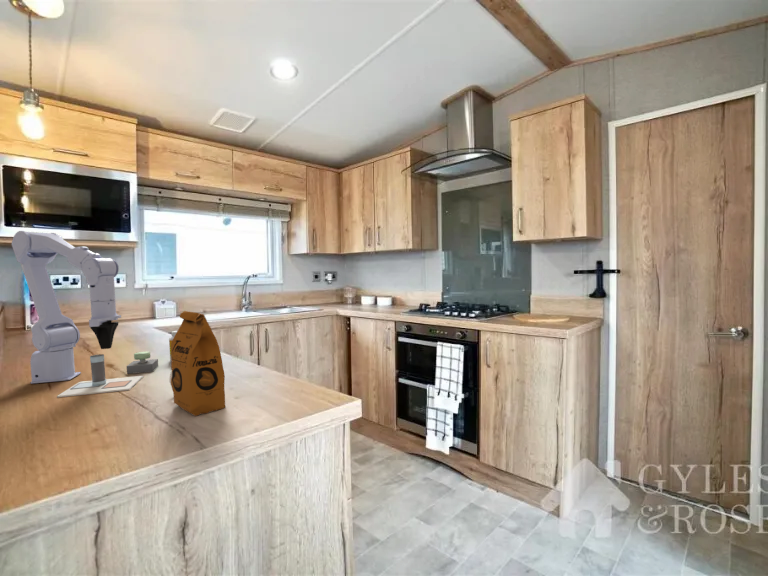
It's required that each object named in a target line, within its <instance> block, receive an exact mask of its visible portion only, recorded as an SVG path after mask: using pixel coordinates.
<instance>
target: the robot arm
mask: <svg viewBox="0 0 768 576" xmlns="http://www.w3.org/2000/svg"><path fill="white" fill-rule="evenodd" d="M11 248H12V249H13V253H14V257H15V259H16V261H17V263H20V266H21V270H22V272H23V275H24V279H25V280H26V283H27V287H28V290H29V293H30V295H31V299H32V301H33V305H34V308H35V310H36V313H37V315H38V316H37V317H38V319H39V320H38V321H37V322H35V323H34V325H33V326H32V327H31V329H30V331H31V334H32V336H31V341H32V342H31V343H32V345H33V346H34V348H36V350H35V351H34V352H33V353H31V356H30V361H29V362H30V364H29V365H30V374H31V381H30V384H39V383H40V384H41V383H52V382H53V383H54V382H62V381H70V380H72V379H73V378H74V379H75V377H77V376H79V375H81V374H82V372H81V371H76V369H75V368H76V367H75V355H74V353H75V352H74V347H76V344H78V342H79V341H80V338H81V332H80V329H79V328H78V327H77V326H76V324H75V323H74V320H73V319H72V318H70V317H68V316H66V315H64V314H62V309H61V307H60V305H59V302H58V301H59V300H58V299H57V296H56V293H55V289H54V288H53V284H52V281H51V279H50V275H49V273H48V269H47V265H49V264H50V263H52V262H53V261H54V260H55V258H56V256H57V255H61V256H63V257H65V258H66V260H67V262H68V263H69V264H70V265H71V266H73V267H75V268H77V269H79V270H81V271H82V273H83V275H84V276H85V278H86V283H87V285H88V286H89V299H90V301H89V302H90V313H91V314H90V315H91V316H90V319H88V323H89V324H88V327H89V328H90V329H91V331H93V333H94V335H95V337H96V338H97V341H98V344H99V347H100V349H101V350H106V349H107V350H108V349H112V346H113V341H114V336H115V332H116V330H117V328H118V326H119V321H117V320H119V319H121V318H122V315H121V314H118V313H117V305H116V303H117V302H116V289H115V288H116V287H115V277H117V275H118V274H119V270H120V269H119V264H118V262H117V261H116V259H114V258H113V257H103V256H101V254H100V253H97V252H96V253H95V252H93V251H91V250H89V248H90V247H87V246H74V245H73V244H71V243H70V242H67V240H65V239H64V238H63V236H62V235H60V234H57V233H56V232H49V233H48V232H37V231H36V232H34V231H24V230H18V231H17V232H16V233H14V235H13V237H12V241H11Z"/></svg>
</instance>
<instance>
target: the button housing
mask: <svg viewBox="0 0 768 576" xmlns="http://www.w3.org/2000/svg"><path fill="white" fill-rule="evenodd" d="M158 367H159V359H158V358H153V359H152V358H151V359H146V363H140V360H133V361H132V362H130V363H129V364H127V365H126V374H127V375H129V374H140V373H150V372H154V371H155V370H156V369H157V368H158Z"/></svg>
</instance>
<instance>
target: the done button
mask: <svg viewBox="0 0 768 576" xmlns="http://www.w3.org/2000/svg"><path fill="white" fill-rule="evenodd" d="M149 359H151V351H139V352H136V353H133V360H134V361H140V363H146V360H149Z"/></svg>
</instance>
